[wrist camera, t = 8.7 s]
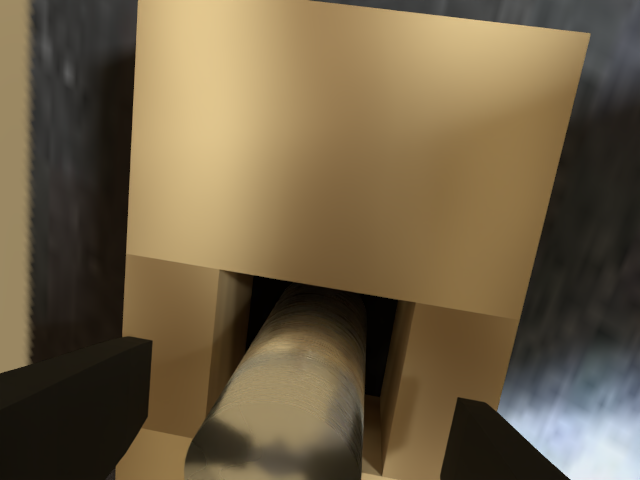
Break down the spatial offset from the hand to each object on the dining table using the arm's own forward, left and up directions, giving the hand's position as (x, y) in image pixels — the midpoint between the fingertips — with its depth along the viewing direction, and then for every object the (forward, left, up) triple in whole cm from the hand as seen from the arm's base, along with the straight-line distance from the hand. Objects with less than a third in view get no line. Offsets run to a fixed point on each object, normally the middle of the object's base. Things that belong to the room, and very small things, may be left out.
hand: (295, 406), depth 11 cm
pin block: (+1, -2, -6) cm, 6 cm away
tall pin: (0, 0, -6) cm, 6 cm away
